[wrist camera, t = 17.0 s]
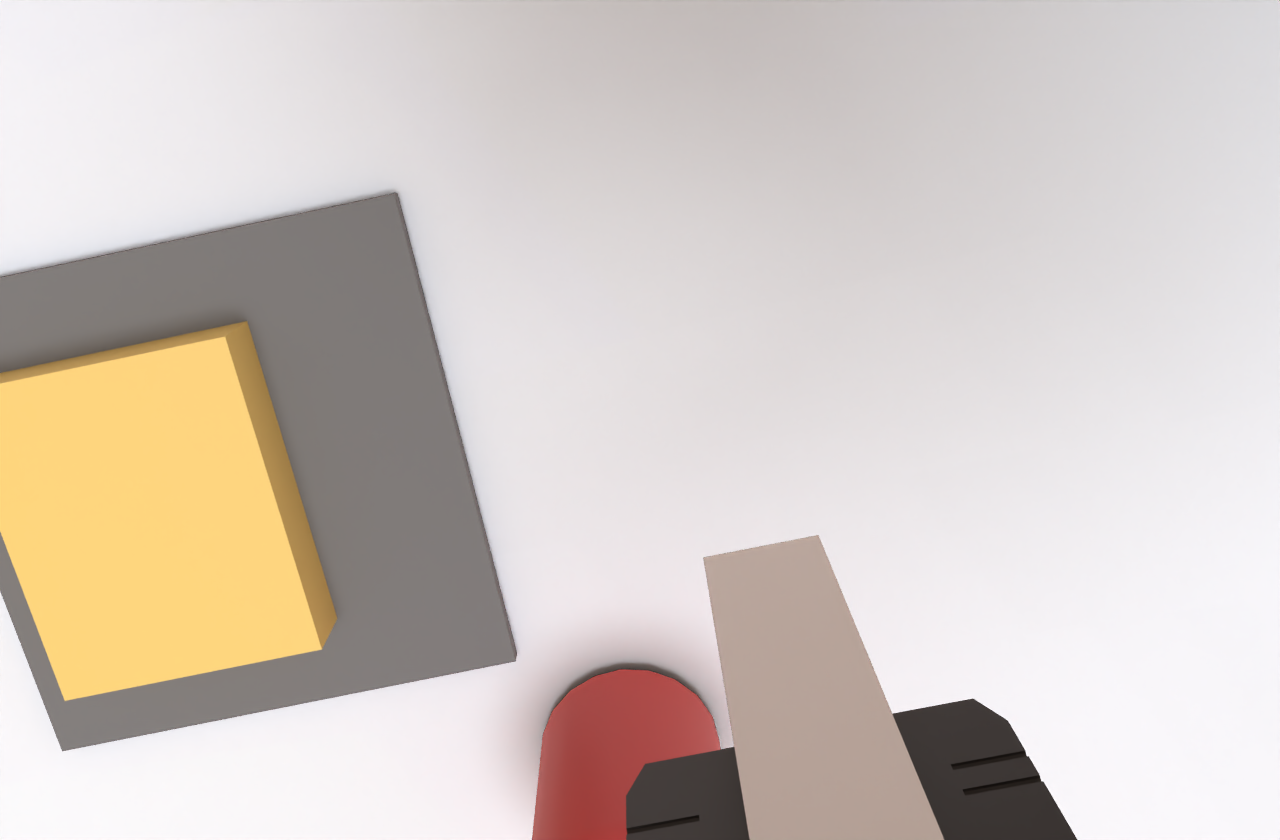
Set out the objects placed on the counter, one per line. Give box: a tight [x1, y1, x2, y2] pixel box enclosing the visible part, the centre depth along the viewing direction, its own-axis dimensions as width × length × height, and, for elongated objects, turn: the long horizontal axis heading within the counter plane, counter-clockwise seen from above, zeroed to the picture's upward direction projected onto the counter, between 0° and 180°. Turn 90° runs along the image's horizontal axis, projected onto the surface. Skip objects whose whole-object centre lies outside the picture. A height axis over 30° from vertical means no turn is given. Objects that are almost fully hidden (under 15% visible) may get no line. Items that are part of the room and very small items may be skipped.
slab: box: [0, 321, 337, 701], centre depth 41 cm, size 11×2×9 cm
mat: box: [0, 193, 517, 751], centre depth 42 cm, size 17×17×1 cm
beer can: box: [532, 669, 721, 840], centre depth 40 cm, size 7×7×12 cm
